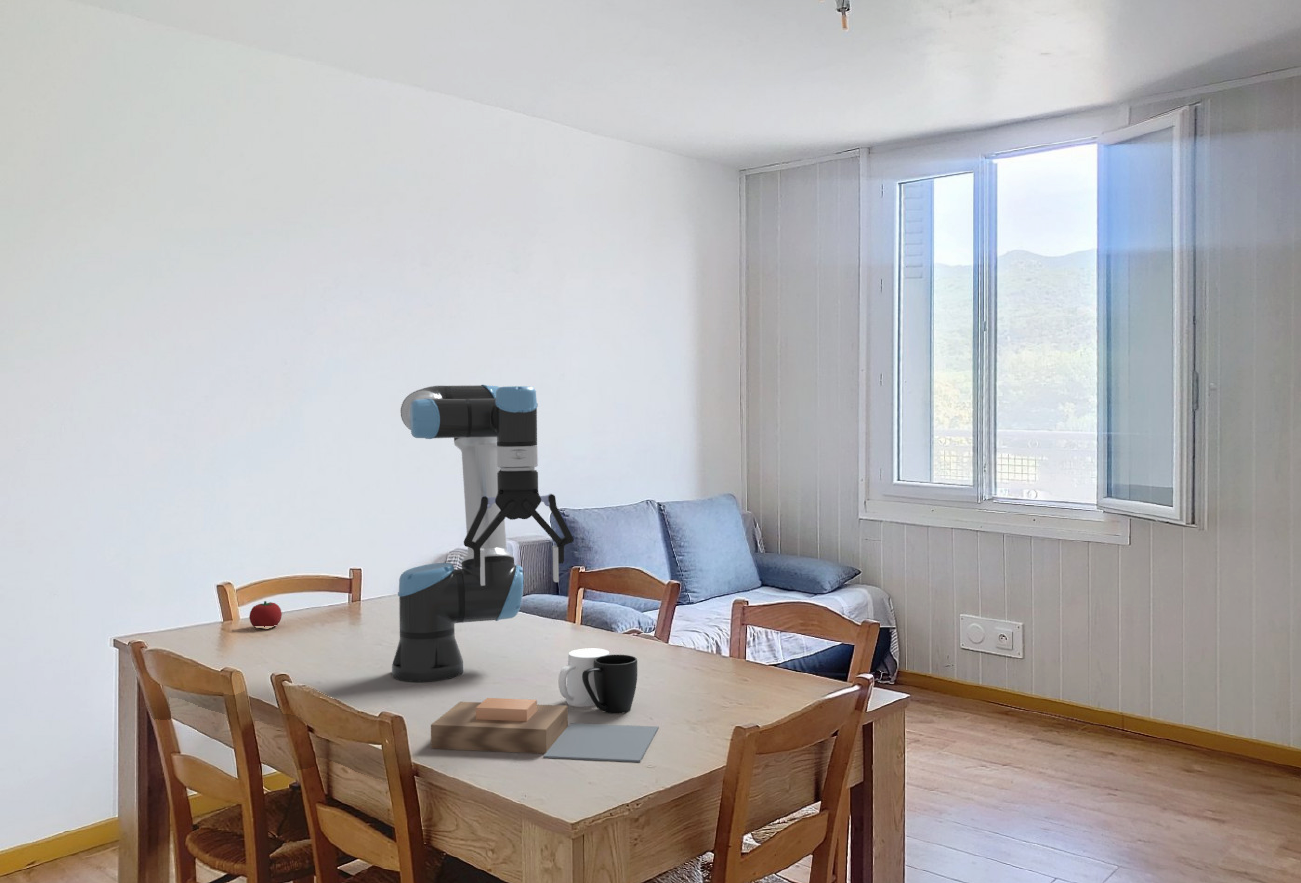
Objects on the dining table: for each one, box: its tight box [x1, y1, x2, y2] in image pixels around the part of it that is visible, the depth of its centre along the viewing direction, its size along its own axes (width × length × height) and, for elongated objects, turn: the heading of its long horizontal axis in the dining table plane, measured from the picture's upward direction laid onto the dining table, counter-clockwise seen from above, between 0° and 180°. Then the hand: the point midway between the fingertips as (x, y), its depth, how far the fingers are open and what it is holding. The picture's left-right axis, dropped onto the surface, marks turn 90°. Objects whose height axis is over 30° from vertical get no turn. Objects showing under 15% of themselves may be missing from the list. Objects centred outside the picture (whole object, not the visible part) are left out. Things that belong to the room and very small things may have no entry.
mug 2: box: [582, 654, 638, 715], centre depth 194 cm, size 8×12×10 cm
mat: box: [542, 722, 660, 763], centre depth 176 cm, size 16×18×1 cm
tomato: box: [248, 600, 283, 627], centre depth 275 cm, size 8×8×7 cm
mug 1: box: [558, 647, 610, 708], centre depth 201 cm, size 12×9×8 cm
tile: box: [476, 697, 538, 721], centre depth 179 cm, size 9×6×2 cm, turn 80°
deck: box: [430, 701, 569, 755], centre depth 179 cm, size 20×14×4 cm
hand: (519, 583), depth 193 cm, fingers open, 13 cm apart
